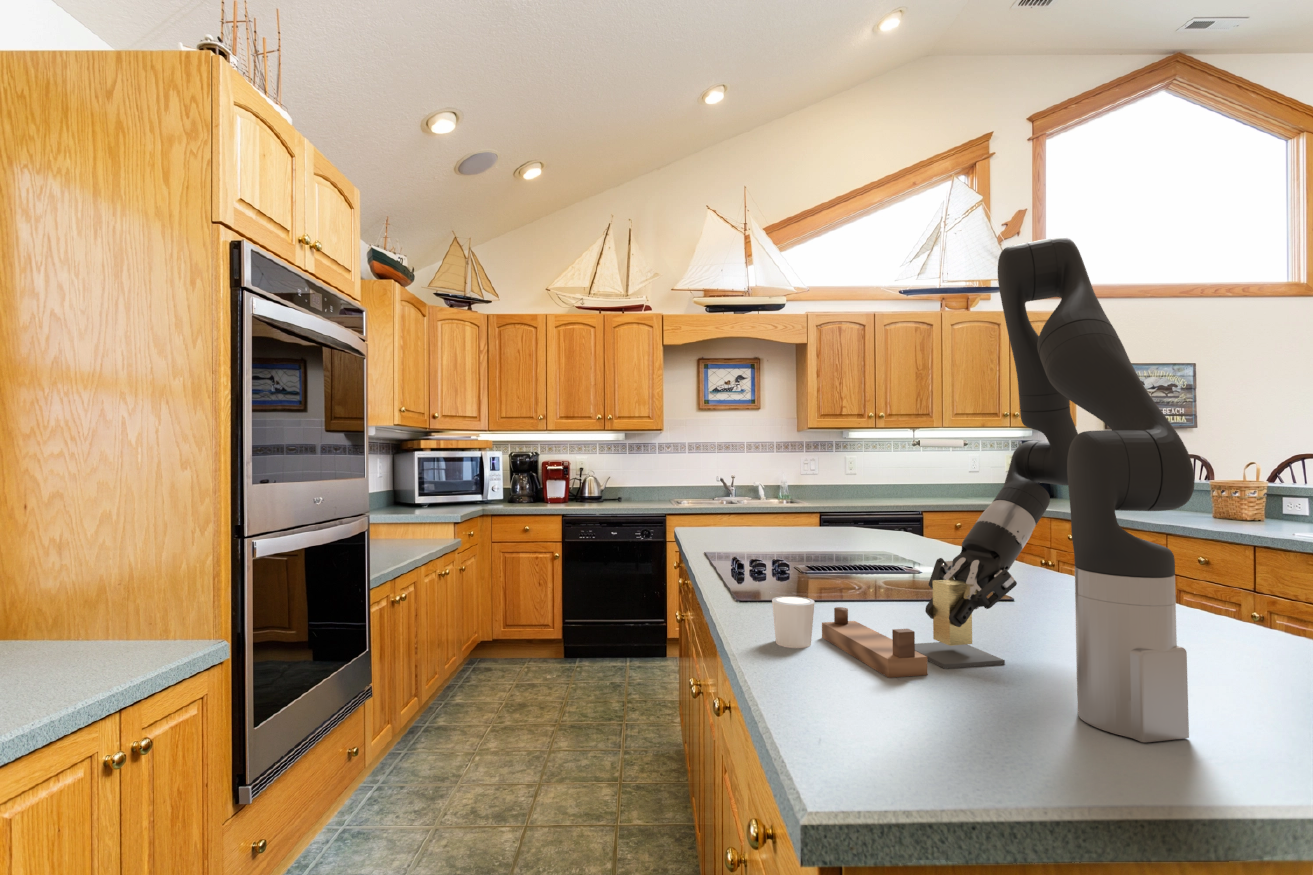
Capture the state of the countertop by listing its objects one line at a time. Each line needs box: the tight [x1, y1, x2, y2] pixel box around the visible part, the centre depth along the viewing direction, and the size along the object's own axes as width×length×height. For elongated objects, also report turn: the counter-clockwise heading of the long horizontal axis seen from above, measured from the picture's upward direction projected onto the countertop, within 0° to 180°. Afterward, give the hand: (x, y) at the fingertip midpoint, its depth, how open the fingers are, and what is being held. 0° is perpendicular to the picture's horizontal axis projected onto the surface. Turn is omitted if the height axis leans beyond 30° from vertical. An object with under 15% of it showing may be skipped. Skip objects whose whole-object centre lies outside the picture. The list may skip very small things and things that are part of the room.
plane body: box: [821, 606, 929, 679], centre depth 97 cm, size 20×6×6 cm, turn 11°
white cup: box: [771, 595, 816, 649], centre depth 103 cm, size 7×7×7 cm
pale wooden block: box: [932, 579, 973, 646], centre depth 97 cm, size 4×4×9 cm
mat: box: [915, 641, 1006, 669], centre depth 96 cm, size 10×10×1 cm
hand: (942, 619), depth 96 cm, fingers closed on pale wooden block, 4 cm apart
